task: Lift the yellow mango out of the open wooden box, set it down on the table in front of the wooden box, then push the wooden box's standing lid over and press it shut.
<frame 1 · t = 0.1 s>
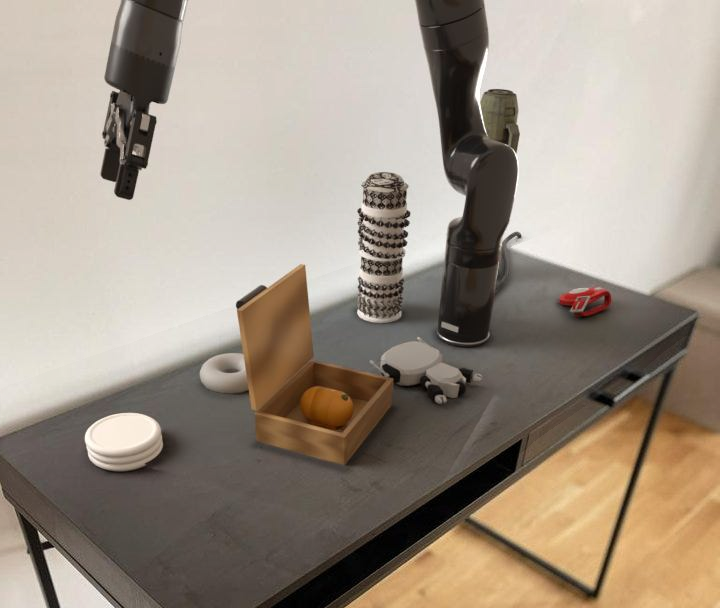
hand: (115, 188, 97), 31 cm above the table, tool tilted 20°, fingers open, 8 cm apart
lid: (266, 333, 106), point 13 cm above the table, hinge at 95.0°
coaster: (126, 453, 105), on the table
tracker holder: (579, 309, 148), on the table
robot toy: (425, 386, 122), on the table
wooden box: (326, 426, 111), on the table
donut: (232, 383, 121), on the table
decorative candle: (379, 314, 143), on the table
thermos: (477, 274, 161), on the table
mango: (326, 421, 111), point 1 cm above the table, touching wooden box
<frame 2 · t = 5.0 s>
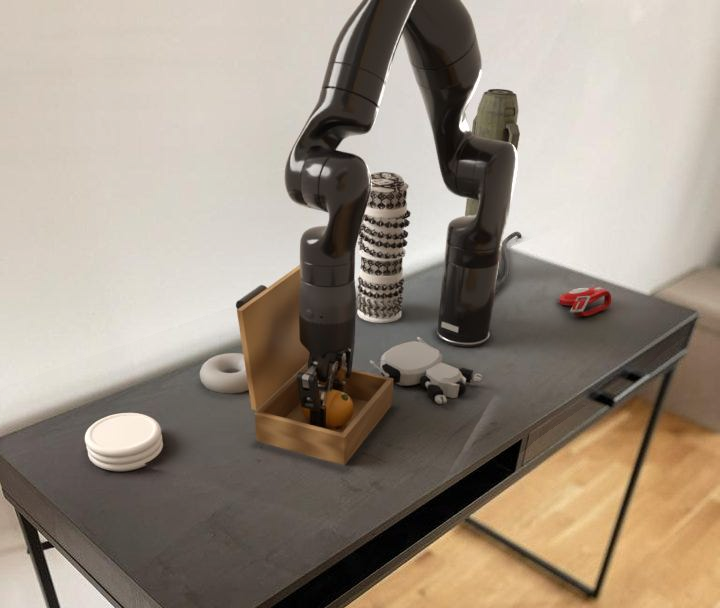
hand: (326, 417, 110), 1 cm above the table, tool pointing down, fingers closed on mango, 5 cm apart
mango: (326, 421, 111), point 1 cm above the table, touching gripper, wooden box
everything else where it was.
when the fingers open (1 cm above the table, at t = 14.4 s): mango stays where it is, on the table.
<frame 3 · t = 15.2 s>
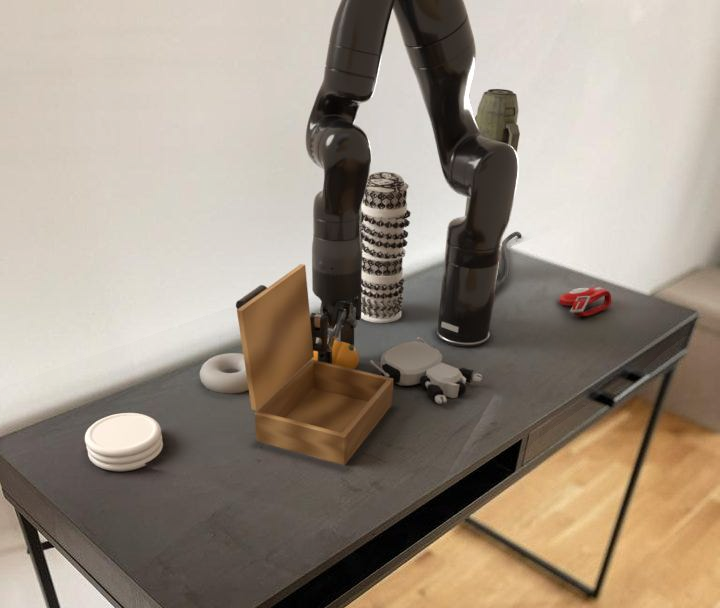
hand: (336, 359, 124), 2 cm above the table, tool pointing down, fingers open, 8 cm apart
mango: (334, 370, 125), on the table
everything else where it was.
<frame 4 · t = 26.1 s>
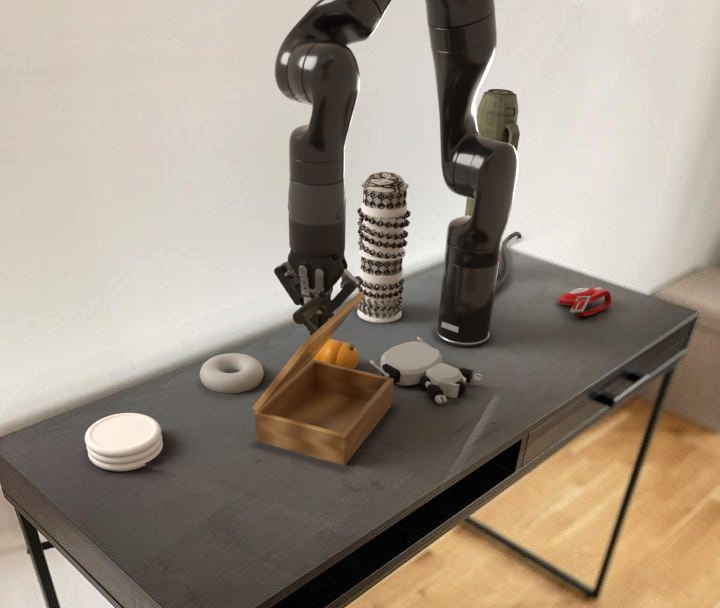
hand: (317, 334, 110), 11 cm above the table, tool pointing down, fingers closed
lid: (298, 340, 105), point 13 cm above the table, hinge at 55.3°
everything else where it was.
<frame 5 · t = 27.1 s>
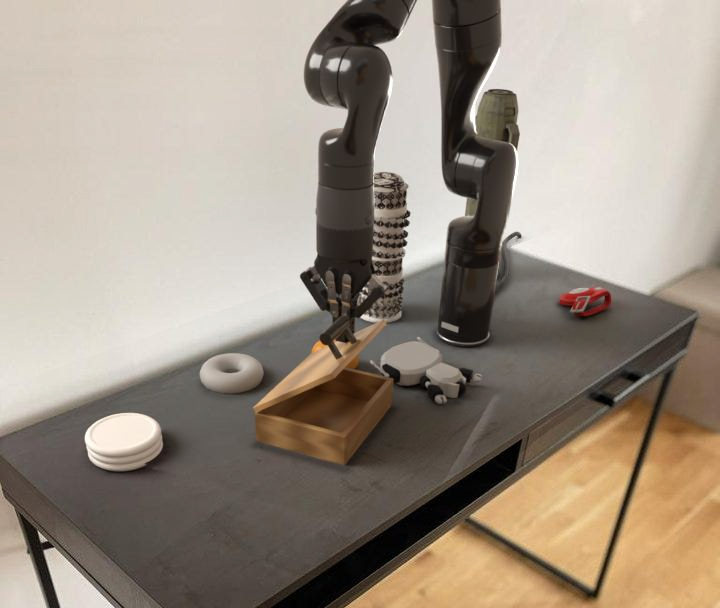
hand: (343, 339, 108), 11 cm above the table, tool pointing down, fingers closed
lid: (313, 352, 105), point 12 cm above the table, hinge at 35.0°, touching gripper
everything else where it was.
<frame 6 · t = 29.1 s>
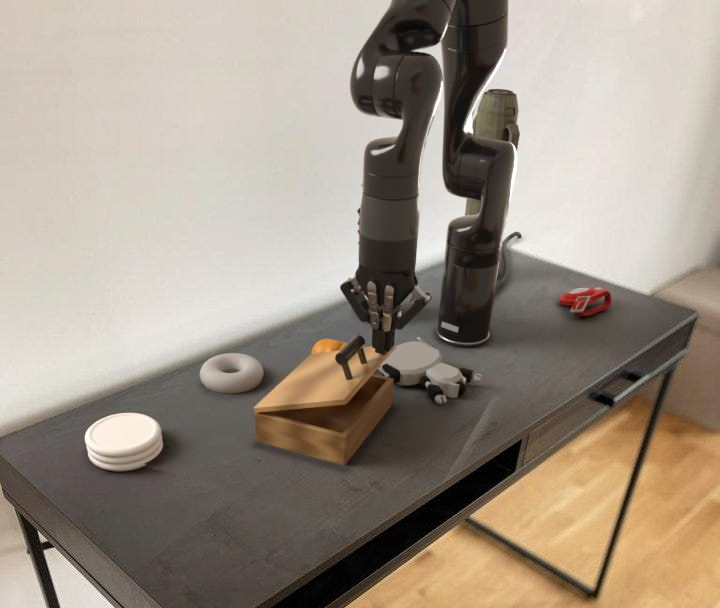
hand: (382, 351, 107), 11 cm above the table, tool pointing down, fingers closed
lid: (322, 364, 105), point 10 cm above the table, hinge at 20.0°, touching gripper
everything else where it was.
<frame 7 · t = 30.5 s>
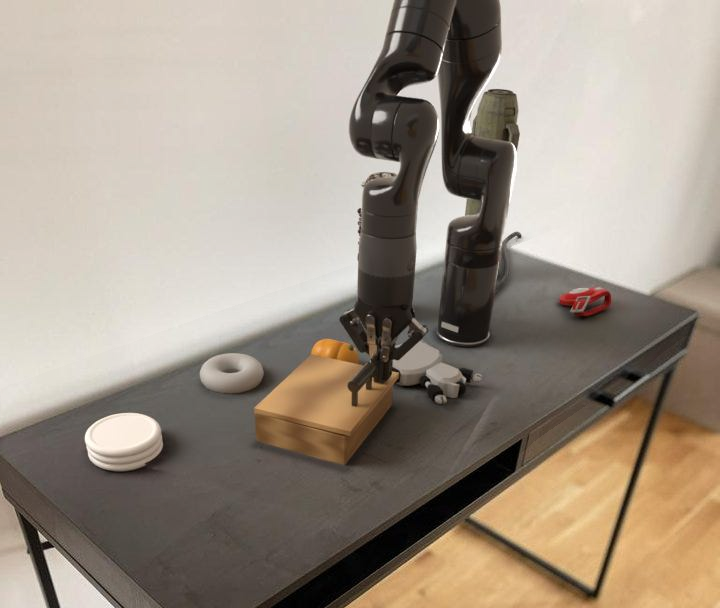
hand: (380, 380, 110), 6 cm above the table, tool pointing down, fingers closed
lid: (329, 379, 106), point 8 cm above the table, hinge at 1.2°, touching gripper
everything else where it was.
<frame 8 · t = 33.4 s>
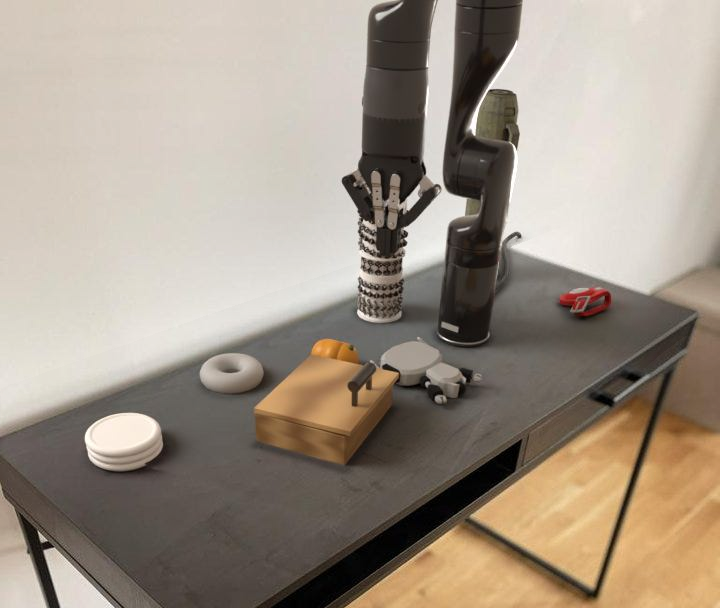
hand: (387, 254, 99), 25 cm above the table, tool pointing down, fingers closed
lid: (329, 379, 106), point 8 cm above the table, hinge at 1.1°
everything else where it was.
at the end: mango inside the target area (0.2 cm from its centre), on the table; lid at +1° (first picture: +95°) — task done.
